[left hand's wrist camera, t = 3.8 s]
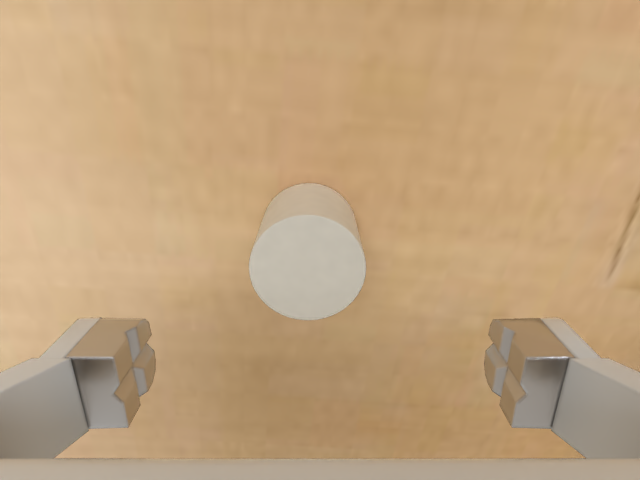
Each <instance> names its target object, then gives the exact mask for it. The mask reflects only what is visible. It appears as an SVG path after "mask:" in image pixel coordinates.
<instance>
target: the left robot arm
mask: <svg viewBox="0 0 640 480" xmlns="http://www.w3.org/2000/svg"><path fill="white" fill-rule="evenodd" d="M150 336H151V330H150V325H149V322H148V321H147V320H146V319H133V318H81V319H77V320H76V321H75V322H74V323H73V324H72V325H71V326H70V327H69V328H68V329H67V330H66V331H65V332H64V333H63V334H62V335H61V336H60V337H59V338H58V339H57V340H56V341H55V342H54V343H53V344H52V345H51V346H50V347H49V348H48V349H47V350H46V351H45V352H44V354H43V355H42V356H41V357H40V358H31V359H29V360H27V361H24V362H22V363H20V364H18V365H16V366H13V367H11V368H9V369H7V370H4V371H2V372H0V480H640V372H638V371H636V370H633V369H631V368H629V367H627V366H624V365H622V364H620V363H618V362H616V361H613V360H611V359H609V358H600V356H599V355H598V354H597V353H596V352H595V351H594V350H593V349H592V348H591V347H590V346H589V345H588V344H587V343H586V342H585V341H584V340H583V339H582V338H581V337H580V336H579V335H578V334H577V333H576V332H575V331H574V330H573V329H572V328H571V327H570V326H569V325H568V324H567V323H566V322H565V321H564V320H563V319H560V318H557V317H556V318H528V319H494V320H493V321H492V323H491V325H490V329H489V336H490V338H491V340H492V341H493V344H492V345H491V346H490V347H489V348H488V349H487V350H486V353H485V361H484V366H485V375H486V379H487V382H488V384H489V386H490V388H491V390H492V391H493V392H494V393H496V394H497V395H499V396H500V397H501V400H500V407H501V409H502V411H503V412H504V414H505V416H506V418H507V420H508V422H509V423H510V425H511V427H512V428H545V429H551V431H553V432H554V433H555V434H556V435H558V436H559V437H560V438H561V439H563V440H564V441H565V442H567V443H568V444H569V445H570V446H572V447H573V448H574V449H575V450H577V451H578V452H579V453H580V454H582V455H583V456H584V457H586V458H476V459H475V458H474V459H123V458H55V457H56V456H57V455H58V454H60V453H61V452H62V451H63V450H65V449H66V448H67V447H69V446H70V445H71V444H72V443H74V442H75V441H76V440H77V439H79V438H80V437H81V436H83V435H84V434H85V433H86V432H88V431H89V429H94V428H128V427H129V425H130V423H131V422H132V420H133V418H134V416H135V414H136V412H137V411H138V409H139V407H140V400H139V397H140V396H141V395H143V394H144V393H146V392H147V391H148V390H149V388H150V386H151V384H152V382H153V378H154V374H155V366H156V359H155V353H154V350H153V349H152V348H151V347H150V346H149V345H148V344H147V341H148V340H149V338H150Z"/></svg>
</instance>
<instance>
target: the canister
mask: <svg viewBox="0 0 640 480" xmlns="http://www.w3.org/2000/svg"><path fill="white" fill-rule="evenodd" d="M249 274H250V279H251V282H252V285H253V287H254V289H255V291H256V293H257V294H258V296H259V297H260V298H261V300H262V301H263V302H264V303H265V304H266V305H267V306H269V307H270V308H271V309H273V310H274V311H276V312H278V313H279V314H281V315H284V316H286V317H289V318H293V319H299V320H318V319H323V318H326V317H329V316H332V315H334V314H336V313H338V312H340V311H342V310H343V309H344V308H346V307H347V306H348V305H349V304H350V303H351V302H352V301H353V300H354V299H355V298H356V296H357V295H358V294H359V292H360V290H361V288H362V286H363V283H364V280H365V275H366V260H365V255H364V251H363V247H362V243H361V239H360V235H359V232H358V228H357V224H356V220H355V216H354V213H353V210H352V209H351V207H350V205H349V203H348V202H347V201H346V200H345V198H344V197H343V196H342V195H340V194H339V193H338V192H336V191H335V190H333V189H331V188H329V187H327V186H324V185H321V184H315V183H304V184H298V185H294V186H291V187H289V188H287V189H285V190H283V191H282V192H280V193H279V194H278V195H277V196H275V197H274V198H273V200H272V201H271V202H270V204H269V205H268V207H267V209H266V211H265V214H264V217H263V219H262V222H261V225H260V228H259V231H258V234H257V237H256V240H255V243H254V246H253V248H252V251H251V255H250V260H249Z"/></svg>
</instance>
